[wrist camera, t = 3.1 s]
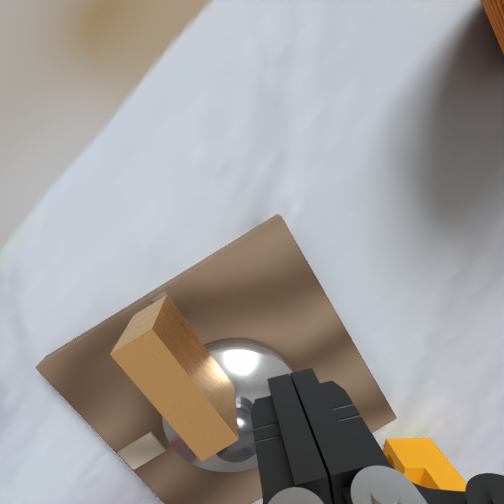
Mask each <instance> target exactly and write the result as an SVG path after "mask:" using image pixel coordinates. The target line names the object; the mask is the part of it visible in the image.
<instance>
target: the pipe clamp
mask: <svg viewBox="0 0 504 504" xmlns="http://www.w3.org/2000/svg"><path fill="white" fill-rule="evenodd" d="M383 453H384V454H385V456H386V458H387V459H388V461H389V462H390V464H391V465H392V466H393V468H394V469H395V470H397V471H398V472H400V473H402V474H403V475H405V476H406V477H407V478H408V479H409V480H410V481H411V482H413V483H415V484H417V485H420V486H423V487H426V488H431V489H440V490H452V491H464V492H465V488H466V485H467V483H466V482H465V480H464V479H463V478H462V477H461V475H460V474H459V473H458V472H457V471H456V469H455V468H454V467H453V466H452V465H451V463H450V462H449V461H448V460H447V458H446V457H445V456H444V455H443V454H442V452H441V451H440V450H439V449H438V447H437V446H436V445H435V444H434V443H433V441H432V440H431V439H430V438H406V439H386V442H385V447H384V451H383Z"/></svg>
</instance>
